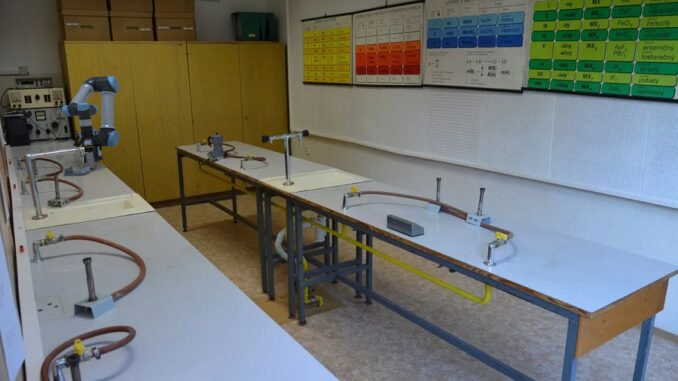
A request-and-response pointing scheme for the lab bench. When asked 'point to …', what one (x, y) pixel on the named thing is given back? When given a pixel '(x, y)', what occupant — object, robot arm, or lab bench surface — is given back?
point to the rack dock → (70, 171)
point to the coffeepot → (217, 144)
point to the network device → (90, 156)
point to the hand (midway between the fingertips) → (90, 155)
